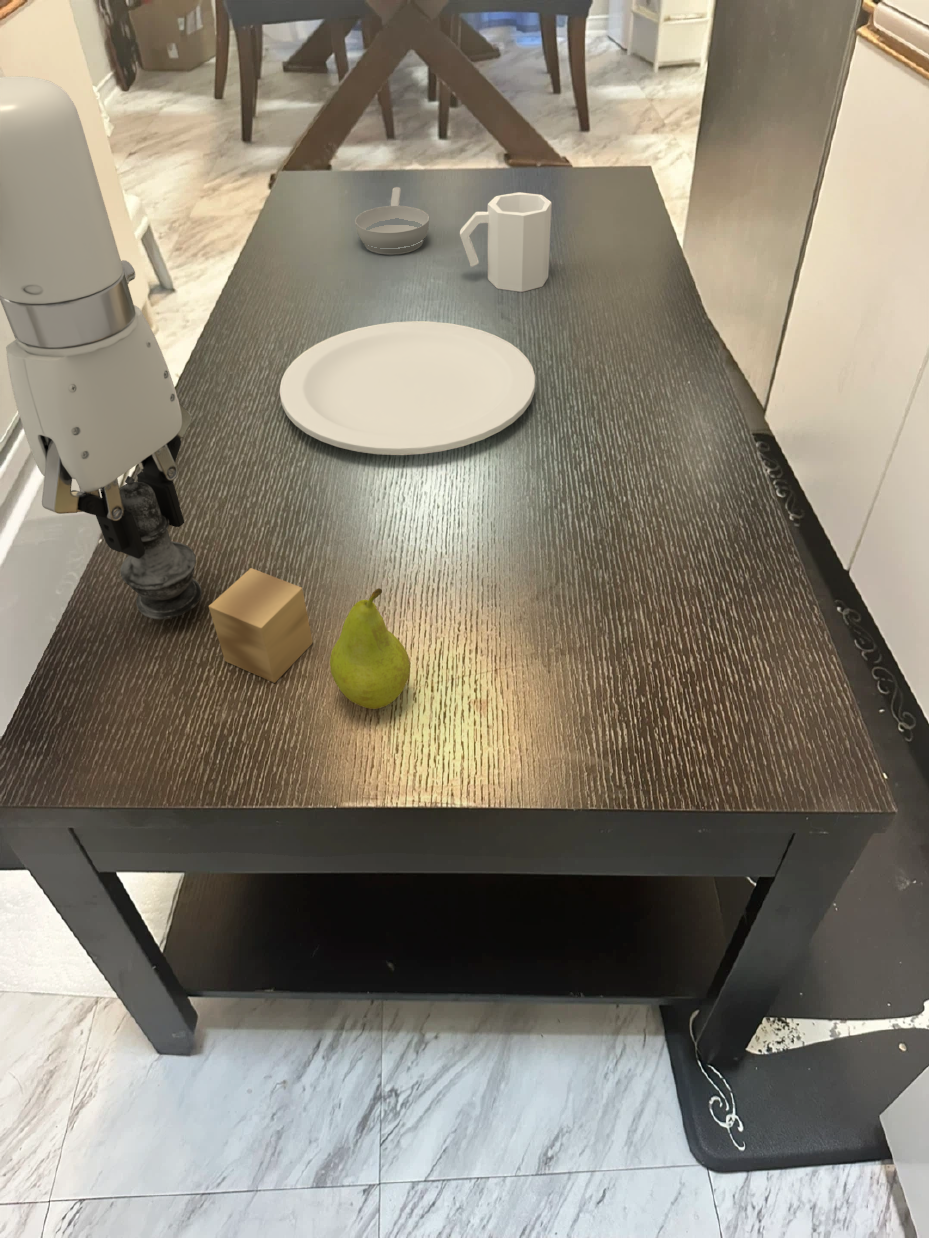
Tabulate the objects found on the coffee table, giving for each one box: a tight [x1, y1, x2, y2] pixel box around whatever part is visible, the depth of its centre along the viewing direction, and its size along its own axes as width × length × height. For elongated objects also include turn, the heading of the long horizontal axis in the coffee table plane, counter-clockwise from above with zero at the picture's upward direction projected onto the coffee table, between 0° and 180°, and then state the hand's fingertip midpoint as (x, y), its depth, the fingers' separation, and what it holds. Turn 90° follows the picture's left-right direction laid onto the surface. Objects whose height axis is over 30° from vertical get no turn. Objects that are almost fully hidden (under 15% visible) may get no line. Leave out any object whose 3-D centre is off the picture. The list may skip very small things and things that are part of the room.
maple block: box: [208, 567, 314, 684], centre depth 69 cm, size 5×5×6 cm
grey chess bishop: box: [119, 475, 203, 620], centre depth 69 cm, size 6×6×12 cm
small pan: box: [354, 186, 430, 256], centre depth 133 cm, size 11×18×4 cm, turn 0°
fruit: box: [329, 587, 411, 710], centre depth 63 cm, size 6×6×12 cm
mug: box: [459, 191, 553, 293], centre depth 118 cm, size 12×9×10 cm
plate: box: [279, 320, 536, 456], centre depth 98 cm, size 28×28×2 cm
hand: (147, 534), depth 68 cm, fingers closed on grey chess bishop, 3 cm apart
